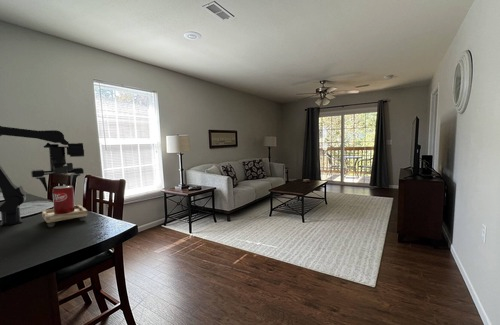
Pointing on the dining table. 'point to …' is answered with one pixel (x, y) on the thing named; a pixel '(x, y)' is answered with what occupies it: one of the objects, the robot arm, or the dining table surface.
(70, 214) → the dolly
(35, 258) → the dining table surface
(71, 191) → the soda can
